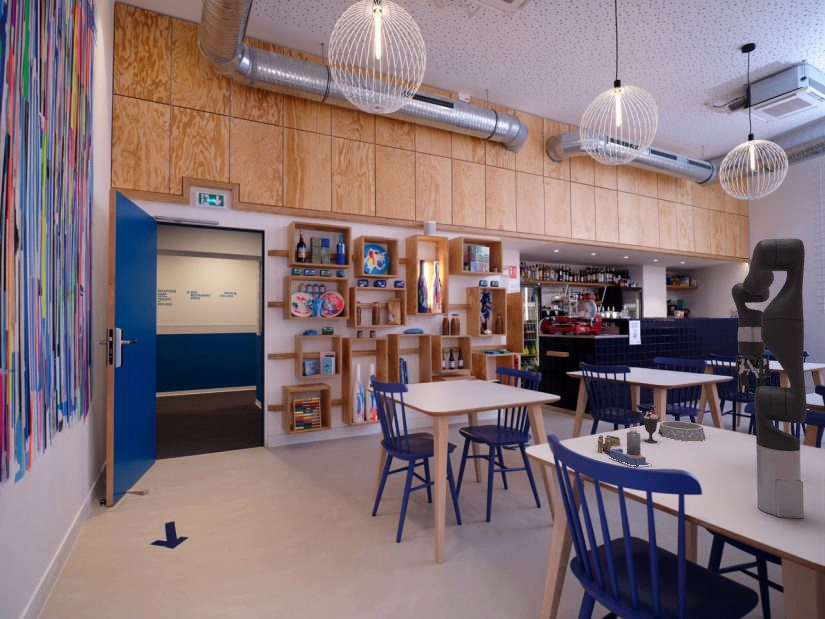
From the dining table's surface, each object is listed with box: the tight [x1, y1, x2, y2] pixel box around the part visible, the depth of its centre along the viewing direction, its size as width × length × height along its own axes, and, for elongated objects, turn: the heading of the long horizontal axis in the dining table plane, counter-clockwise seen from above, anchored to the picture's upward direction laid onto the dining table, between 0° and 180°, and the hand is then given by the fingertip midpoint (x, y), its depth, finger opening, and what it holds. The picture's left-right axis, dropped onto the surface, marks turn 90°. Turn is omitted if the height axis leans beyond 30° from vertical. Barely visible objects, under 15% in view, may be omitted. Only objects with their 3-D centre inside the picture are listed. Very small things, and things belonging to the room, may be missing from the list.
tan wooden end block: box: [604, 434, 621, 448], centre depth 185 cm, size 4×4×3 cm
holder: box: [609, 447, 651, 468], centre depth 163 cm, size 8×12×3 cm, turn 20°
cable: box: [602, 442, 612, 455], centre depth 178 cm, size 16×4×1 cm, turn 155°
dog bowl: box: [658, 420, 707, 442], centre depth 199 cm, size 17×18×5 cm
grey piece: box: [625, 427, 642, 457], centre depth 164 cm, size 5×5×11 cm
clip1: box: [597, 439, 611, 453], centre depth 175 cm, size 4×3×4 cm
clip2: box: [597, 434, 612, 449], centre depth 181 cm, size 4×3×4 cm
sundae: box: [641, 406, 660, 444], centre depth 190 cm, size 7×7×15 cm
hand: (752, 387), depth 155 cm, fingers open, 8 cm apart
